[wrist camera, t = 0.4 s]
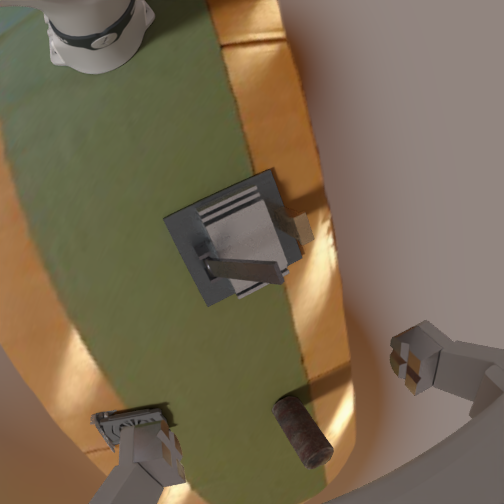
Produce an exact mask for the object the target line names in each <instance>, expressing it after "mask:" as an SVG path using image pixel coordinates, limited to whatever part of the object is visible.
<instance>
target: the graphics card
mask: <svg viewBox="0 0 504 504" xmlns="http://www.w3.org/2000/svg"><path fill="white" fill-rule="evenodd" d="M115 411H116V410H113V411H107V412H100V413H96V414H95V415H91V416H92V417H91V421H92V422H90V424H95V426H96V428H97V429H98V431H99V432H100V434H101V432H102V433H103V434H104V435H103V434H101V435H102V437H103V438H104V440H105V441H106V443H107V444H108V442H109V444H108V445H109V447H110V448H111V450H112V451H113V452H115V450H114V448H115V445H116V444H120V432H121V429H122V427H127V426H133V425H138V424H143V423H149V422H154V421H159V420H164V421H165V422H166V423H167V420H166V418H165V417H164V416H163V415H162V412H161V409H159V408H156V409H152V410H149V409H144V410H139V411H133V412H128V413H122V414H116V415H113V416H111V415H112V414H113V413H114V412H115ZM97 414H98V415H97ZM92 419H93V420H92ZM102 425H103V426H102ZM120 428H121V429H120ZM169 431H170V429H169ZM170 432H171V431H170ZM106 439H107V440H106Z"/></svg>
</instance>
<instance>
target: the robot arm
mask: <svg viewBox="0 0 504 504" xmlns="http://www.w3.org/2000/svg"><path fill="white" fill-rule="evenodd" d="M5 6H22V7H31V8H36V9H39V10H41V11H42V12H43V13H44V19H45V22H46V24H48V23H49V29H48V30H47V32H48V36H49V41H50V55H51V61H52V63H53V64H54V65H59V66H70V67H72V68H74V69H75V70H77V71H80V72H83V73H88V74H99V73H104V72H108V71H111V70H113V69H116V68H118V67H119V66H121V65H123V64H124V63H125V62H127V61H128V60H129V59H130V58H131V57H132V56H133V55H134V54H135V53H136V51H137V50H138V48H139V46H140V44H141V42H142V39H143V36H144V33H145V31H146V29H147V28H148V27H149V26H150V25H151V24H152V22H153V21H154V19H155V14H154V12H153V11H152V9H151V8H150V7H149V5H148V4H147V3H146V1H145V0H0V7H5ZM146 12H147V13H146ZM55 53H57V54H55ZM390 346H391V347H392V348H393V351H392V352H391V354H390V364H391V367H392V369H393V371H394V373H395V374H396V375H397V376H398V377H399V378H403V379H405V385H406V387H407V388H408V389H409V390H410V391H411V392H412V393H413V395H414V396H416V395H417V394H419V393H421V392H423V391H425V390H426V389H428V388H430V387H432V386H434V387H435V388H438V389H440V390H443V391H446V392H448V393H451V394H454V395H457V396H459V397H462V398H465V399H468V400H470V401H473V402H474V403H473V405H472V407H471V410H470V413H469V416H470V417H471V418H472V420H470V421H469V422H468V423H466V424H465V425H464V426H463V427H461V428H460V429H458V430H457V431H456V432H454V433H453V434H451V435H450V436H448V437H447V438H446V439H444V440H442V441H441V442H440V443H438V444H437V445H435V446H433V447H432V448H430V449H429V450H427V451H426V452H424V453H422V454H421V455H419V456H418V457H416V458H414V459H413V460H411V461H409V462H407V463H406V464H404V465H402V466H401V467H399V468H397V469H395V470H394V471H391V472H390V473H388V474H386V475H384V476H382V477H380V478H378V479H376V480H374V481H372V482H370V483H368V484H366V485H364V486H362V487H360V488H357V489H355V490H353V491H351V492H349V493H347V494H344V495H342V496H339V497H337V498H335V499H332V500H330V501H328V502H325V503H322V504H504V349H498V348H493V347H488V346H482V345H477V344H472V343H467V342H461V341H455V342H453V341H452V340H451V339H450V338H448V337H447V336H446V335H445V334H444V333H442V332H441V331H440V330H439V329H438V328H436V327H435V326H434V325H433V324H431V323H430V322H429V321H427V320H424V321H423V322H421V323H419V324H417V325H415V326H413V327H411V328H409V329H408V330H406V331H404V332H402V333H400V334H398V335H396V336H394V337H392V339H391V345H390ZM182 457H183V456H182V450H181V446H180V443H179V441H178V439H177V437H176V435H175V434H174V433H173V432H170V431H169V427H168V424H167V423H166V422H165V421H164V420H159V421H154V422H149V423H143V424H138V425H133V426H127V427H122V429H121V432H120V449H119V465H118V466H115V467H114V468H113V470H112V471H111V473H110V474H109V475H108V477H107V478H106V480H105V481H104V483H103V484H102V485H101V487H100V488H99V490H98V491H97V492H96V494H95V495H94V497H93V498H92V500H91V501H90V502H89V504H157V502H158V500H159V498H160V495H161V493H162V491H163V489H164V488H163V487H167V486H172V485H177V484H182V483H186V479H185V471H184V467H183V465H182V464H181V463H180V460H181V459H182Z"/></svg>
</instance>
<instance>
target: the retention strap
mask: <svg viewBox="0 0 504 504" xmlns="http://www.w3.org/2000/svg"><path fill="white" fill-rule="evenodd" d="M203 262H204V264H205V266H206V268H207V270H208V272H209V274H210V276H211V277H212V278H213V277H221V278H229V279H237V280H245V281H254V282H262V283H270V284H279V285H281V284H282V283H283V282H284V278H283V276H282V273H281V271H280V268H279V265H278V263H277V261H261V260H243V259H225V258H210V256H208V257H206V258H204V259H203Z"/></svg>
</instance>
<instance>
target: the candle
mask: <svg viewBox="0 0 504 504" xmlns="http://www.w3.org/2000/svg"><path fill="white" fill-rule="evenodd" d="M272 412H273V414H274V416H275V418H276V419H277V421H278V423H279V424H280V426H281V428H282V429H283V431H284V433H285V434H286V436H287V438H288V439H289V441H290V443H291V444H292V446H293V448H294V449H295V451H296V453H297V454H298V456H299V458H300V459H301V461H302V463H303V464H304V466H305V467H306V468H307V469H314V468H316V467H318V466H320V465H323V464H326V463H327V462H328V461H329V460H330V459H331V457H332V455H333V452H334V451H333V447H332V446H331V444H330V443H329V441H328V440H327V439H326V437H325V436H324V434H323V433H322V432H321V430H320V429H319V427H318V426H317V424H316V423H315V422H314V420H313V419H312V417H311V416H310V414H309V413H308V411H307V410H306V408H305V407H304V405H303V404H302V402H301V401H300V400H299V399H298V398H297V397H286V398H284V399H282V400H280V401H278V402H277V403H276V404H275V405H274V406H273V409H272Z"/></svg>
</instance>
